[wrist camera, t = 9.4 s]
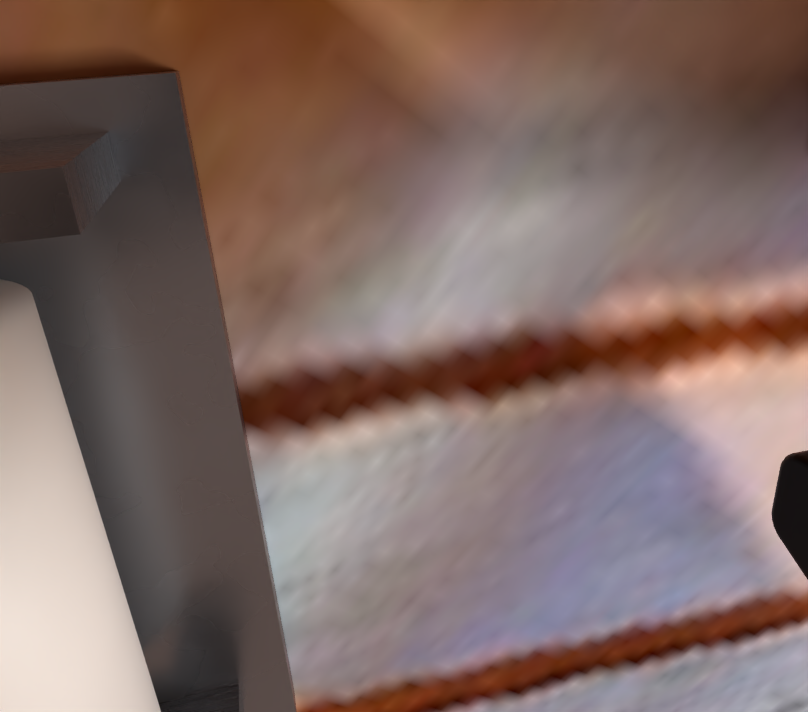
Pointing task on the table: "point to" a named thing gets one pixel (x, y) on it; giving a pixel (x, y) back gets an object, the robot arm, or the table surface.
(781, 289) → the table surface
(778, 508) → the robot arm
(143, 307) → the roll stand
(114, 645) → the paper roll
